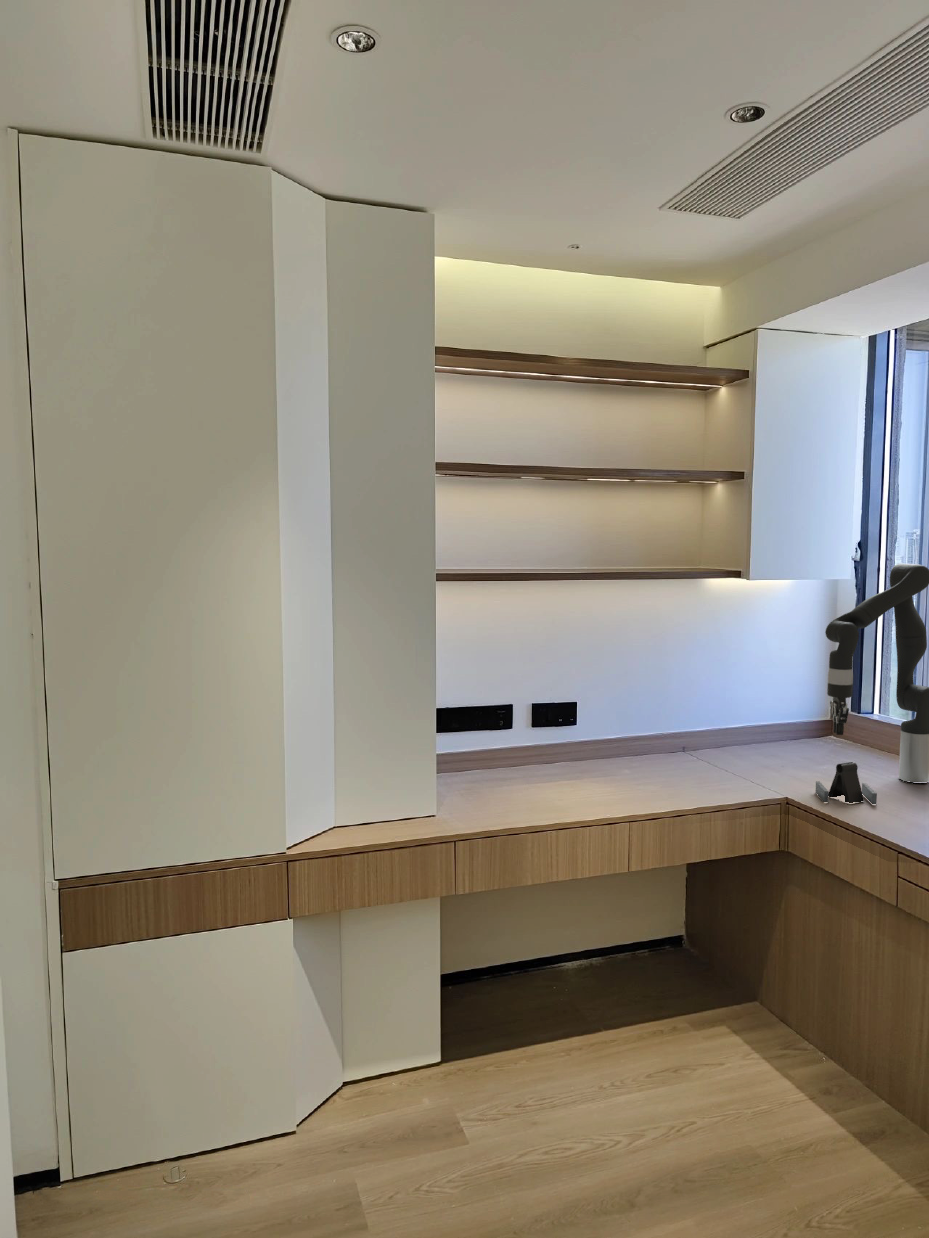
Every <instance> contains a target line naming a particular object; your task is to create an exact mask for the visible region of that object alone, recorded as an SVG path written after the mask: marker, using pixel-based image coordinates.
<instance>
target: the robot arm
mask: <svg viewBox="0 0 929 1238" xmlns="http://www.w3.org/2000/svg"><path fill="white" fill-rule="evenodd" d="M889 584H890V588H889V589H888V588H887V589H886V590H883V591H882V592H879V593H877V594H875V595H872V596H870V597H868V598H867V599H865V600H863V601H862V602H861V603H859V604H858V605H857V606H855V607H854V608H853V609H852V610H851V611H849V612H846V613H844V614H843V615H840V616H838V617H837V618H835V619H833V620H831V621H830V622H829V623H828V624H827V626H826V628H825V632H824V633H825V637H826V638H827V639H828V640H829V641H830V642H833V643H838V646H837V649H834V650H831V651H830V652H829V658H828V659H829V662H828V672H827V673H828V674H827V687H826V688H827V692H826V694H827V696H829V697H831V698H832V700H830V702H829V704H830V714H831V716H830V717H831V719H832V721H833V728H832V729H833V733H835V735H837V736H843V735H844V729H845V728H844V726H845V725H846V724H847V722H848V716H849V713H850V712H849V711H850V709H849V707H848V703H847V698H852V697H853V686H854V684H853V683H854V672H853V668H854V667H853V661H854V658H853V657H854V654H855V652H856V649H857V646H858V642H859V639H860V633H859V629H865V628H867V627H869V626H870V625H871V624H872V623H875V621H876V620H878V619H879V618H880V617H881V616H883V615H884V614H885V613H887V612H888V611H889V610H891V609H892V608H893V612H894V613H893V614H894V623H895V625H894V626H895V627H894V629H895V645H896V663H897V664H896V665H897V666H896V667H897V668H896V669H897V671H896V672H897V673H896V689H895V690H896V695H895V696H896V697H895V698H896V702H897V705H898V708H899V709H901V710H904V711H908V712H914V713H915V717H914V718H913V719H910V720H905V721H902V722H901V724H900V742H899V744H900V745H899V762H898V764H899V765H898V779H899V778H900V779H902V780H903V781H902V782H904V781H910V782H927V781H929V686H925V685H919V684H914V672H915V669H916V667H917V666H918V664H919V662H920V661H921V660H922V658H923V656H924V655H925V653H926V650H927V647H928V640H927V629H926V625H925V623H924V621H923V619H922V618H921V615H920V614H919V612H918V611H917V608H916V606H915V604H914V603H915V602H914V599H913V597H914V596H915V595H918V594H919V593H921V592H922V591H924V590H925V589H926V588H928V586H929V568H928V567H927V566H925V565H922V564H918V563H917V564H916V563H904V562H903V563H901V562H900V563H897V564H894V566H892V568H891V570H890V574H889ZM844 724H845V725H844Z"/></svg>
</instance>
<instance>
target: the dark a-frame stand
mask: <svg viewBox="0 0 929 1238" xmlns="http://www.w3.org/2000/svg"><path fill="white" fill-rule="evenodd" d="M828 791H829V794H828V796H829V797H837V796H841V795H844V796H845V802H849V803H853V802H861V801H864V800H865V798H864V797H863V795H862V786H861V784H860V779H859V774H858V764H857V763H856V762H853V761H850V762H844V763H843V762H842V763H838V764H836V766H835V774H834V777H833V779H832V783H831V786H830V789H829V790H828ZM864 802H865V801H864Z"/></svg>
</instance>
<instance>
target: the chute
mask: <svg viewBox="0 0 929 1238" xmlns="http://www.w3.org/2000/svg"><path fill="white" fill-rule="evenodd" d="M829 791H830V790H828V789H827V788H826V786H824V785H823V783H822V782H821V781H820V780H819V781H818V780H817V781H816V780H815V794H816V793H817V794H818V796H819V797H820V798H821V799H822V800H823V802H828V803H829V798H828V794H829ZM861 791H862V794H863V795H864V796H865V797H866V798H867V799H868V800H869V801H870V802H871V803H872V804H876V805H877V802H878V801H877V798H878V793H877V792H876V791H875V790H874V789H873V788H872V787H871V786H870V785H868V784H867V783H866V782H865V783H864V782H862V783H861ZM817 794H816V795H817ZM818 796H817V797H818ZM819 797H818V798H819ZM820 798H819V799H820ZM821 799H820V800H821ZM822 800H821V801H822ZM823 802H822V803H823Z"/></svg>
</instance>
